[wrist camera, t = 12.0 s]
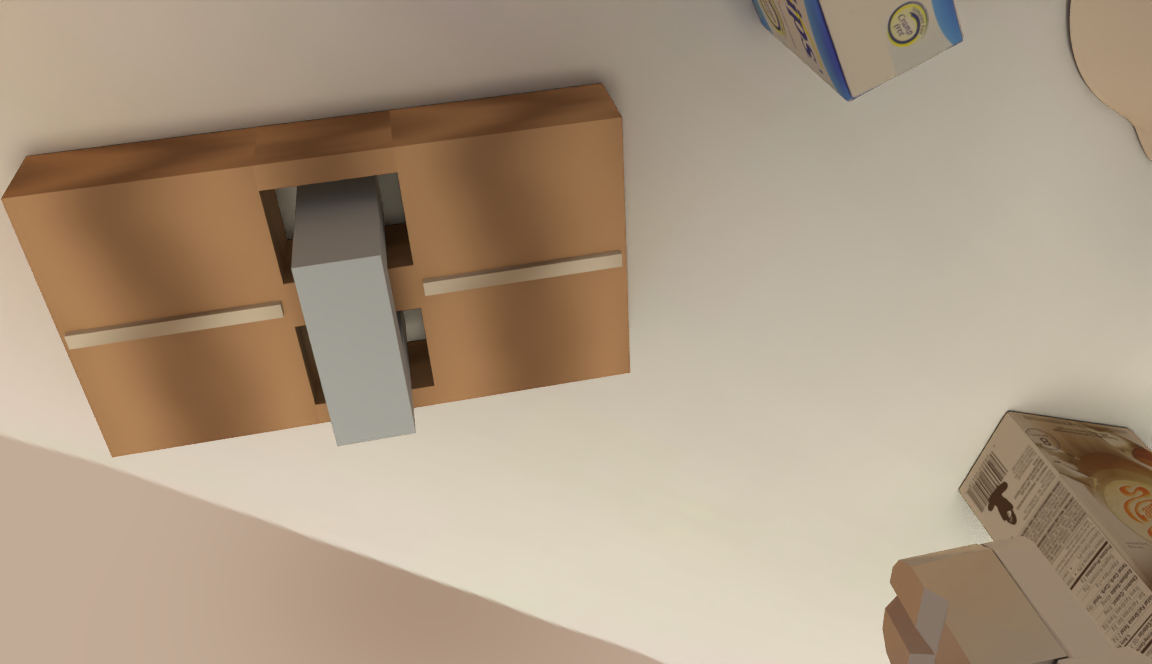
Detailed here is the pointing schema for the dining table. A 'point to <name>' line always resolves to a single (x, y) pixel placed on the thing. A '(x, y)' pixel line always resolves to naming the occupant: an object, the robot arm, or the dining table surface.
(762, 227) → the dining table surface
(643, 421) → the dining table surface
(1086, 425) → the coffee box
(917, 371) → the dining table surface
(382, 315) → the grey u-shaped block
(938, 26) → the medicine box
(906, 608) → the robot arm
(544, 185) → the wooden compartment tray
